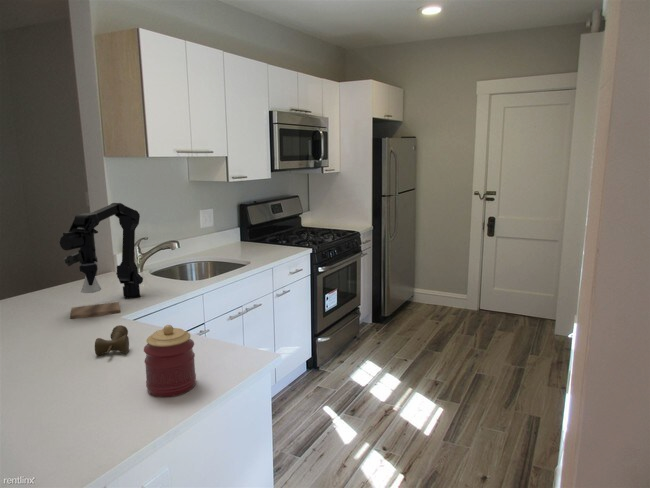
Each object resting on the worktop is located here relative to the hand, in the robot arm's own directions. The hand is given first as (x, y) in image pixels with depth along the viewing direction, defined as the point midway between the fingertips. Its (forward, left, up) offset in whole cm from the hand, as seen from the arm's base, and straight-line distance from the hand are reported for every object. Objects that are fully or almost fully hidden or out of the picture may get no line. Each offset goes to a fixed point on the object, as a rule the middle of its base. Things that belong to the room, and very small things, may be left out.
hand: (90, 283), depth 189 cm
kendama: (-7, +46, -12) cm, 48 cm away
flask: (0, 0, -3) cm, 3 cm away
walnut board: (-1, 0, -12) cm, 12 cm away
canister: (-20, +81, -12) cm, 84 cm away
